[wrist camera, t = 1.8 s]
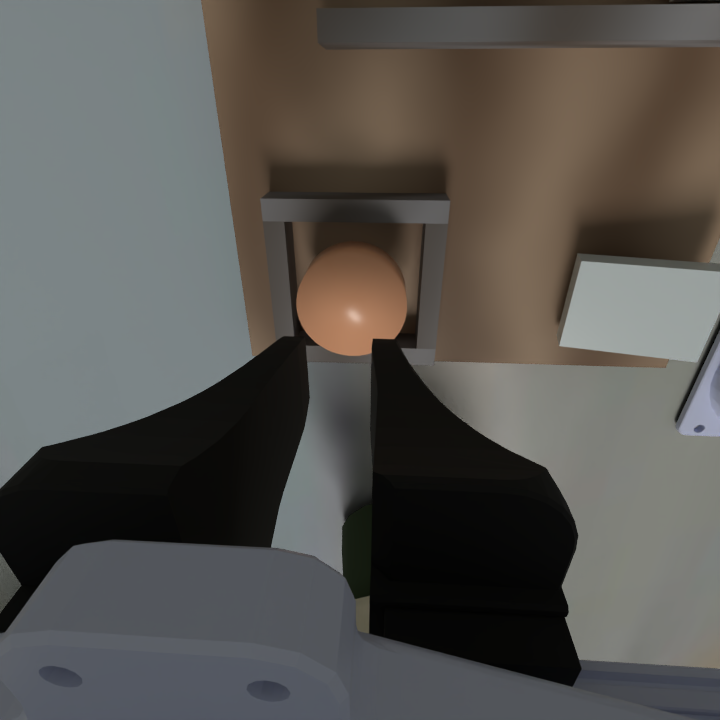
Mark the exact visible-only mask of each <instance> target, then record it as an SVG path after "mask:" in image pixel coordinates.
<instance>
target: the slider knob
mask: <svg viewBox="0 0 720 720" xmlns="http://www.w3.org/2000/svg"><path fill="white" fill-rule="evenodd" d="M703 1H720V0H670V1H669V2H703Z"/></svg>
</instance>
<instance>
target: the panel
mask: <svg viewBox="0 0 720 720" xmlns="http://www.w3.org/2000/svg"><path fill="white" fill-rule="evenodd" d="M669 1H670V0H201V2H202V9H203V16H204V23H205V30H206V37H207V44H208V51H209V58H210V64H211V71H212V78H213V85H214V92H215V99H216V106H217V113H218V120H219V127H220V134H221V141H222V147H223V154H224V161H225V168H226V175H227V182H228V189H229V196H230V203H231V210H232V217H233V224H234V230H235V237H236V244H237V251H238V258H239V265H240V272H241V279H242V286H243V293H244V300H245V306H246V313H247V320H248V327H249V334H250V341H251V348H252V355H253V356H257V355H258V354H260V353H261V352H262V351H264V350H265V349H266V348H268V347H269V346H270V345H272V344H273V343H274V342H276V341H277V340H278V339H280V338H281V337H283V336H299V337H305V340H306V354H307V362H336V363H369V364H371V355H372V353H370V354H366V355H360V356H347V355H341V354H337V353H334V352H331V351H329V350H327V349H325V348H323V347H321V346H320V345H319V344H317V343H316V342H315V341H314V340H313V339H312V338H311V337H310V336H309V335H308V334H307V333H306V331H305V330H304V328H303V326H302V325H301V322H300V320H299V317H298V313H297V307H296V299H297V292H298V289H299V286H300V284H301V281H302V279H303V277H304V275H305V273H306V271H307V269H308V267H309V265H310V264H311V262H312V261H313V260H314V258H315V257H316V256H317V255H318V254H319V253H321V252H322V251H323V250H325V249H326V248H328V247H330V246H332V245H335V244H338V243H341V242H347V241H358V242H365V243H369V244H372V245H374V246H376V247H378V248H380V249H382V250H383V251H385V252H386V253H388V254H389V255H390V256H391V257H392V258H393V259H394V260H395V262H396V263H397V264H398V266H399V268H400V270H401V272H402V274H403V277H404V280H405V286H406V297H407V313H406V318H405V322H404V324H403V327H402V329H401V330H400V332H399V334H398V335H397V336H396V337H395V339H396V340H397V341H398V343H399V344H400V347H401V349H402V351H403V353H404V355H405V356H406V358H407V360H408V362H409V363H410V365H434V361H451V362H485V363H519V364H553V365H586V366H620V367H654V368H666V365H667V363H668V361H669V359H664V358H655V357H647V356H638V355H630V354H622V353H613V352H605V351H597V350H588V349H580V348H571V347H563V346H559V343H558V339H557V332H558V328H559V324H560V320H561V316H562V312H563V308H564V304H565V300H566V296H567V293H568V289H569V285H570V281H571V277H572V273H573V269H574V265H575V261H576V257H577V253H580V254H594V255H607V256H621V257H635V258H648V259H662V260H675V261H689V262H703V263H709V262H710V260H711V257H712V255H713V252H714V250H715V248H716V245H717V243H718V240H719V238H720V1H703V2H669Z"/></svg>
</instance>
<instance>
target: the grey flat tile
mask: <svg viewBox="0 0 720 720" xmlns="http://www.w3.org/2000/svg"><path fill="white" fill-rule="evenodd" d="M719 313H720V264H716V263H703V262H689V261H675V260H662V259H648V258H635V257H621V256H607V255H594V254H580V253H577V257H576V261H575V265H574V269H573V273H572V277H571V281H570V285H569V289H568V293H567V296H566V300H565V304H564V308H563V312H562V316H561V320H560V324H559V328H558V332H557V339H558V343H559V346H563V347H571V348H580V349H588V350H597V351H605V352H613V353H622V354H630V355H638V356H647V357H655V358H664V359H672V360H680V361H689V362H697V361H698V359H699V357H700V355H701V353H702V350H703V348H704V346H705V344H706V342H707V339H708V337H709V335H710V333H711V331H712V328H713V326H714V324H715V322H716V320H717V317H718V315H719Z"/></svg>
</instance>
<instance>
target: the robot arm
mask: <svg viewBox="0 0 720 720" xmlns="http://www.w3.org/2000/svg"><path fill="white" fill-rule="evenodd" d="M309 399H310V396H309V382H308V368H307V354H306V340H305V337H299V336H283V337H281V338H280V339H278V340H277V341H276V342H274V343H273V344H272V345H270V346H269V347H268V348H266V349H265V350H264V351H262V352H261V353H260V354H258V355H257V356H256V357H254V358H253V359H252V360H250V361H249V362H248V363H246V364H245V365H244V366H242V367H241V368H239V369H238V370H236V371H235V372H233V373H232V374H230V375H229V376H227V377H226V378H224V379H223V380H221V381H220V382H218V383H216V384H215V385H213V386H211V387H210V388H208V389H206V390H204V391H202V392H201V393H199V394H197V395H195V396H193V397H191V398H189V399H187V400H185V401H183V402H181V403H179V404H176V405H174V406H172V407H169V408H167V409H165V410H162V411H160V412H158V413H155V414H153V415H151V416H148V417H145V418H143V419H140V420H137V421H134V422H131V423H129V424H126V425H123V426H120V427H116V428H113V429H110V430H107V431H104V432H100V433H97V434H93V435H90V436H86V437H82V438H78V439H74V440H70V441H66V442H62V443H58V444H54V445H50V446H45V447H42V448H41V449H40V450H39V451H38V452H37V453H36V454H35V455H34V456H33V457H32V458H31V459H30V460H29V461H28V462H27V463H26V464H25V465H24V466H23V467H22V468H21V469H20V470H19V471H18V472H17V473H16V474H15V475H14V476H13V477H12V478H11V479H10V480H9V481H8V482H7V483H6V484H5V485H4V486H3V487H2V488H1V489H0V553H1V554H2V556H3V557H4V559H5V560H6V562H7V564H8V565H9V567H10V568H11V570H12V571H13V573H14V574H15V576H16V577H17V579H18V580H19V582H20V583H21V587H20V588H19V589H18V591H17V592H16V593H15V595H14V596H13V597H12V599H11V600H10V601H9V603H8V604H7V605H6V606H5V608H4V609H3V610H2V612H1V613H0V720H720V669H716V668H701V667H685V666H669V665H653V664H637V663H622V662H606V661H590V660H579V659H578V656H577V653H576V650H575V647H574V644H573V641H572V638H571V635H570V632H569V629H568V626H567V623H566V620H565V617H567V615H568V612H569V611H568V604H567V601H566V598H565V596H564V593H563V590H562V587H561V586H562V584H563V581H564V578H565V576H566V573H567V571H568V568H569V566H570V563H571V560H572V558H573V555H574V553H575V550H576V545H577V539H578V533H577V529H576V525H575V521H574V519H573V517H572V514H571V512H570V510H569V507H568V505H567V503H566V501H565V499H564V497H563V496H562V494H561V492H560V490H559V488H558V487H557V485H556V483H555V482H554V480H553V479H552V477H551V475H550V474H549V472H548V470H547V469H546V468H545V467H543V466H541V465H539V464H537V463H535V462H532V461H530V460H528V459H526V458H524V457H522V456H520V455H518V454H515V453H513V452H511V451H509V450H507V449H505V448H504V447H502V446H500V445H499V444H497V443H495V442H493V441H492V440H490V439H488V438H487V437H485V436H484V435H482V434H480V433H479V432H477V431H476V430H474V429H473V428H472V427H470V426H469V425H468V424H466V423H465V422H463V421H462V420H461V419H459V418H458V417H457V416H456V415H454V414H453V413H452V412H451V411H450V410H449V409H448V408H446V407H445V406H444V405H443V404H442V403H441V402H440V401H439V400H438V399H437V398H436V397H435V396H434V395H433V393H432V392H431V391H430V390H429V389H428V388H427V386H426V385H425V384H424V383H423V381H422V380H421V379H420V378H419V376H418V375H417V373H416V372H415V370H414V369H413V368H412V366H411V365H410V363H409V362H408V360H407V358H406V356H405V355H404V353H403V351H402V349H401V347H400V344H399V343H398V341H397V340H396V339H373V341H372V355H371V423H370V431H371V448H372V464H373V486H372V537H371V575H370V600H369V605H370V609H369V634H368V633H364V632H360V631H358V630H357V626H356V600H355V598H354V596H353V594H352V591H351V589H350V587H349V585H348V583H347V581H346V578H345V577H344V576H343V575H341V574H340V573H339V572H337V571H336V570H334V569H333V568H331V567H330V566H328V565H327V564H325V563H324V562H322V561H321V560H319V559H318V558H316V557H315V556H312V555H307V554H303V553H298V552H294V551H289V550H285V549H280V548H271V544H272V539H273V534H274V529H275V525H276V520H277V515H278V510H279V506H280V502H281V499H282V495H283V491H284V488H285V485H286V482H287V479H288V476H289V473H290V470H291V467H292V464H293V461H294V458H295V455H296V452H297V449H298V446H299V443H300V440H301V437H302V433H303V430H304V427H305V422H306V416H307V411H308V405H309ZM698 425H699V426H698ZM696 426H698V427H696ZM695 427H696V428H695ZM676 429H677V430H678V432H679V433H681V434H682V435H695V436H720V331H719V333H718V335H717V337H716V339H715V341H714V343H713V346H712V348H711V350H710V352H709V354H708V356H707V359H706V361H705V363H704V365H703V367H702V369H701V371H700V374H699V376H698V378H697V380H696V382H695V384H694V386H693V389H692V391H691V393H690V395H689V397H688V399H687V401H686V404H685V406H684V408H683V410H682V412H681V414H680V417H679V419H678V421H677V423H676Z"/></svg>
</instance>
